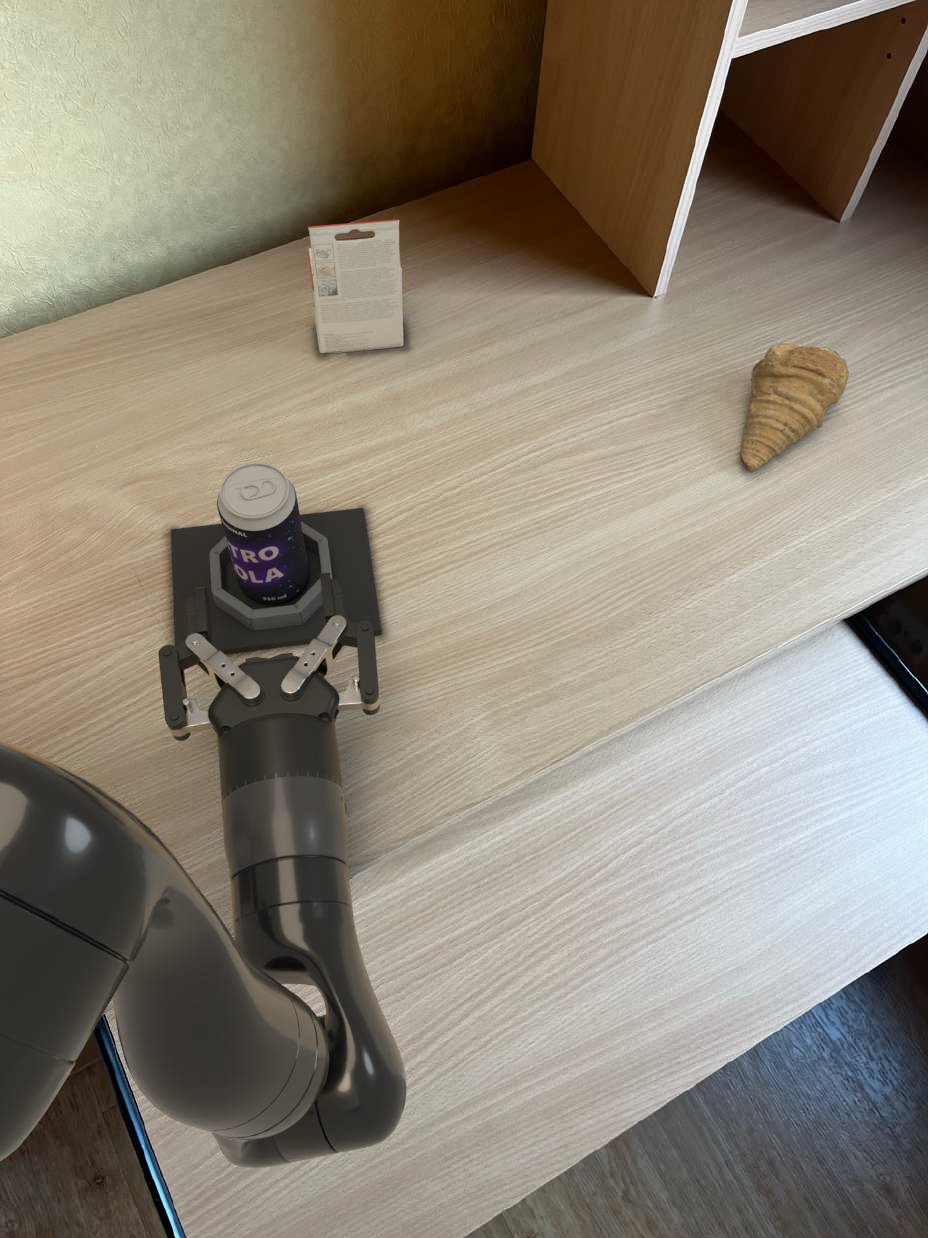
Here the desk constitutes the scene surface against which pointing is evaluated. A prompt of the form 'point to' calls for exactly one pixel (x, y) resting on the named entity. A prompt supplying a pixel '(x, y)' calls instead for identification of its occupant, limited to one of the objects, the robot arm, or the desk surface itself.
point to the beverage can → (263, 532)
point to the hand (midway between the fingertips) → (263, 585)
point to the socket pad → (297, 621)
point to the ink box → (357, 287)
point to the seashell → (789, 398)
